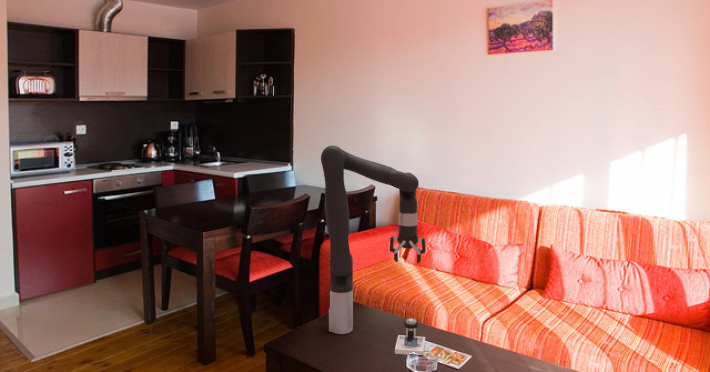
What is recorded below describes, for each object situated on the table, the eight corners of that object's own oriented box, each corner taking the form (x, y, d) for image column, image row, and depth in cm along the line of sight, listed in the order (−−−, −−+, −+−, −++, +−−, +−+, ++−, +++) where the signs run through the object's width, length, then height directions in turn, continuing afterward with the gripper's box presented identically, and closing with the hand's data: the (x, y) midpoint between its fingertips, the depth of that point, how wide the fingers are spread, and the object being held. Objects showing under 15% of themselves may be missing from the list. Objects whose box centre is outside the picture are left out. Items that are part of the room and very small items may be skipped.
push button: (422, 343, 206) (423, 318, 205) (419, 349, 201) (420, 324, 200) (405, 341, 208) (405, 316, 207) (402, 346, 203) (402, 321, 202)
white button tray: (394, 353, 199) (394, 349, 199) (398, 339, 211) (398, 334, 211) (423, 355, 197) (423, 351, 197) (425, 341, 209) (425, 337, 209)
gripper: (389, 224, 212) (388, 264, 215) (425, 226, 210) (424, 266, 212) (391, 220, 219) (390, 258, 222) (426, 221, 217) (425, 260, 219)
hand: (407, 262), depth 217 cm, fingers open, 8 cm apart
